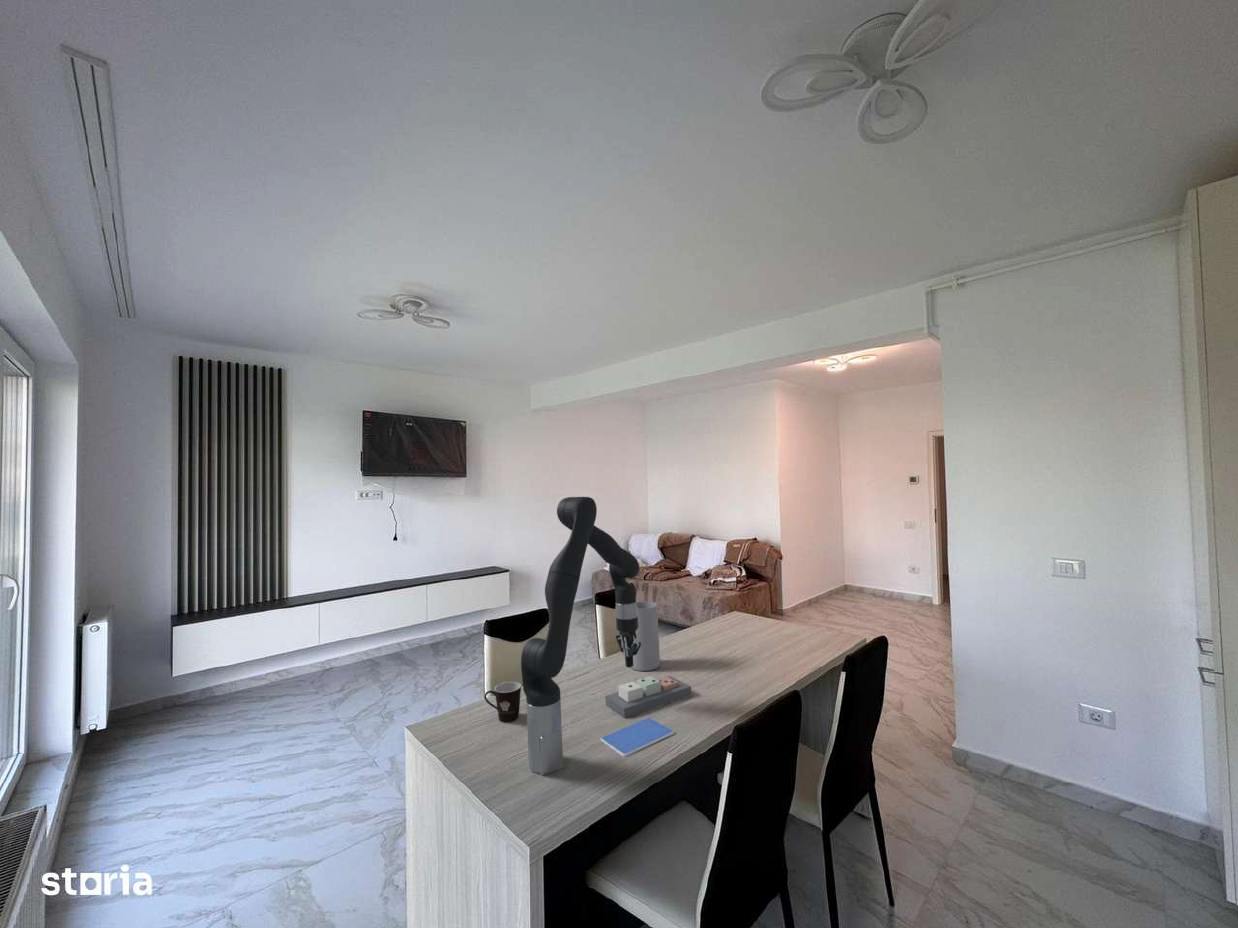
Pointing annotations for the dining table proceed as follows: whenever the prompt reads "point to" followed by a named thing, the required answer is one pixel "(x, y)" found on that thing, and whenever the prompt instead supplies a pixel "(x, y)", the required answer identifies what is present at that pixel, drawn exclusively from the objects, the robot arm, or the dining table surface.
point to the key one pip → (630, 691)
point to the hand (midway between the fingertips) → (629, 666)
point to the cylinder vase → (647, 638)
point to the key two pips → (649, 685)
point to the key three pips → (667, 683)
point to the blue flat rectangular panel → (636, 736)
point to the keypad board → (647, 700)
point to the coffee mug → (507, 701)
